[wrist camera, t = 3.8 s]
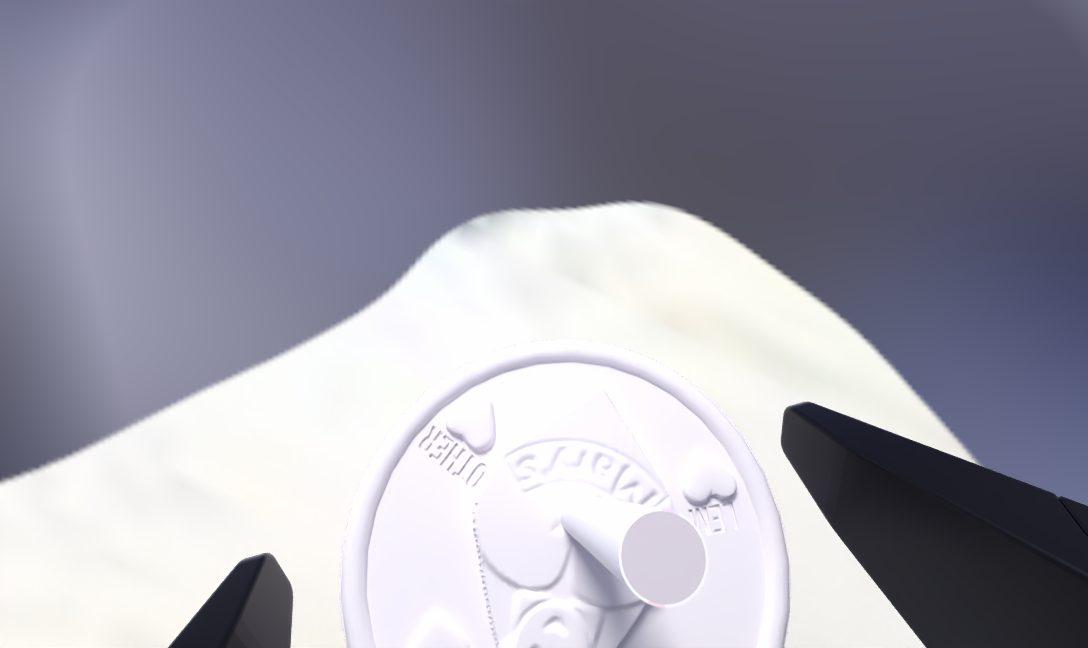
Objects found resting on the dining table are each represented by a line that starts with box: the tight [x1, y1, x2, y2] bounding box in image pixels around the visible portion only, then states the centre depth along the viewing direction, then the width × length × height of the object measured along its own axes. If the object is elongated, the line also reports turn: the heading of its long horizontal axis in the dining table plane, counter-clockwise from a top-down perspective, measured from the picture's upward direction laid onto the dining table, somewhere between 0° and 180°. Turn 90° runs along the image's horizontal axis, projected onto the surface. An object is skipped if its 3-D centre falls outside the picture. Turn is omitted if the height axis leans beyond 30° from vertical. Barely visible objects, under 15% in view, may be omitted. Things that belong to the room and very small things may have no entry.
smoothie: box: [340, 340, 791, 648], centre depth 10 cm, size 6×6×14 cm
